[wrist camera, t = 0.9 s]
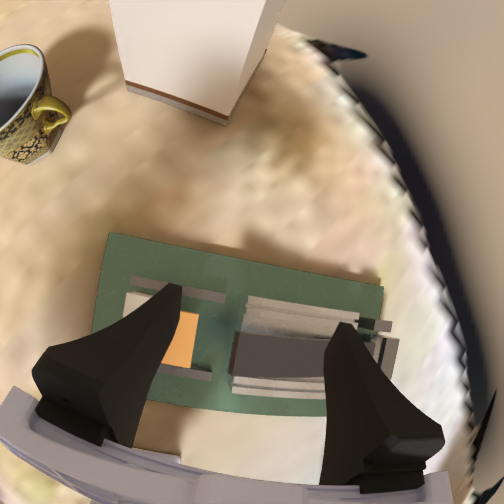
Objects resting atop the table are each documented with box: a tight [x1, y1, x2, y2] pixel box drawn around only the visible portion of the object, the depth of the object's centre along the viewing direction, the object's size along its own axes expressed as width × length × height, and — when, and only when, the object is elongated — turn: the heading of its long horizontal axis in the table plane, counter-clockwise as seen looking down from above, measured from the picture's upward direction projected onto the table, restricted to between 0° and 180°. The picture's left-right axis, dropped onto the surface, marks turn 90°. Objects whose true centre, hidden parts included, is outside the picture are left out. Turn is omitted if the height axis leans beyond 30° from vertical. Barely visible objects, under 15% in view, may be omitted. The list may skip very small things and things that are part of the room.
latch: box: [123, 291, 199, 368], centre depth 23 cm, size 5×5×5 cm
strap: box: [228, 331, 383, 378], centre depth 23 cm, size 4×15×1 cm, turn 80°
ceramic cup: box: [0, 44, 72, 166], centre depth 20 cm, size 13×10×10 cm
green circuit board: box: [92, 232, 399, 417], centre depth 25 cm, size 14×28×4 cm, turn 80°
